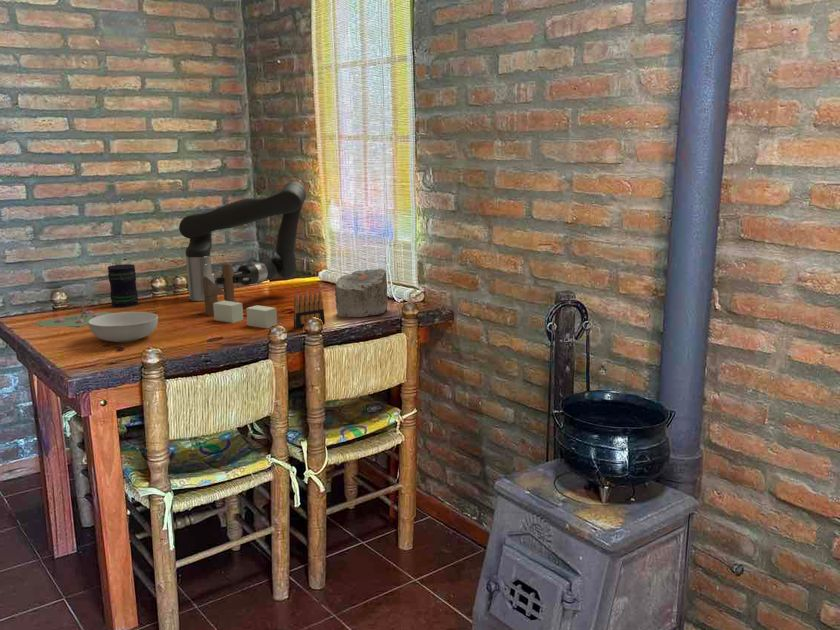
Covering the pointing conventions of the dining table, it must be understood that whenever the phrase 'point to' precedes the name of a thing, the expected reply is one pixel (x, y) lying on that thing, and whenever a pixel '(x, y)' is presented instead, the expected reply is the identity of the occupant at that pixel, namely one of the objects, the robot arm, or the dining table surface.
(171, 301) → the dining table surface
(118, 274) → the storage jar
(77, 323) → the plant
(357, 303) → the petrified wood
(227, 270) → the wooden angular bracket
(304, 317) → the ammunition clip
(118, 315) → the serving bowl
